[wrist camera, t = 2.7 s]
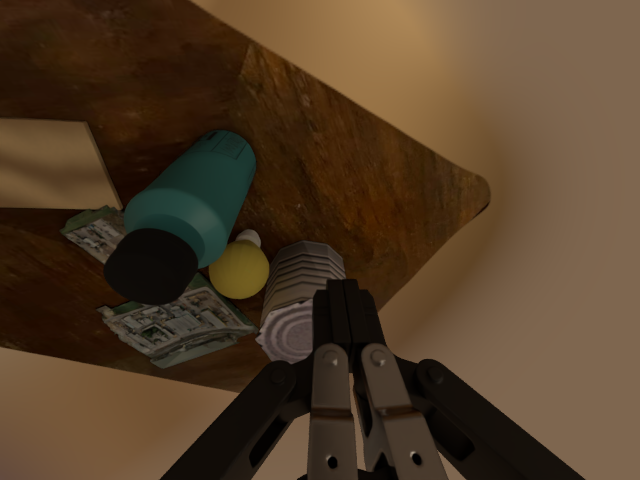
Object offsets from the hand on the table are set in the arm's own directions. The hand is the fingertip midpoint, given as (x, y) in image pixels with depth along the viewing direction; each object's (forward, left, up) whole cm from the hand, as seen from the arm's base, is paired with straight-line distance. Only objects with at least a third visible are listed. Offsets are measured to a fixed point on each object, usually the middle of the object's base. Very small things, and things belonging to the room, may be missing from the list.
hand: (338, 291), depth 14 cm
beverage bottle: (0, -10, -21) cm, 23 cm away
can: (+17, -1, -21) cm, 27 cm away
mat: (+2, -31, -20) cm, 37 cm away
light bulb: (+11, -9, -21) cm, 25 cm away
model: (+23, -26, -20) cm, 40 cm away
